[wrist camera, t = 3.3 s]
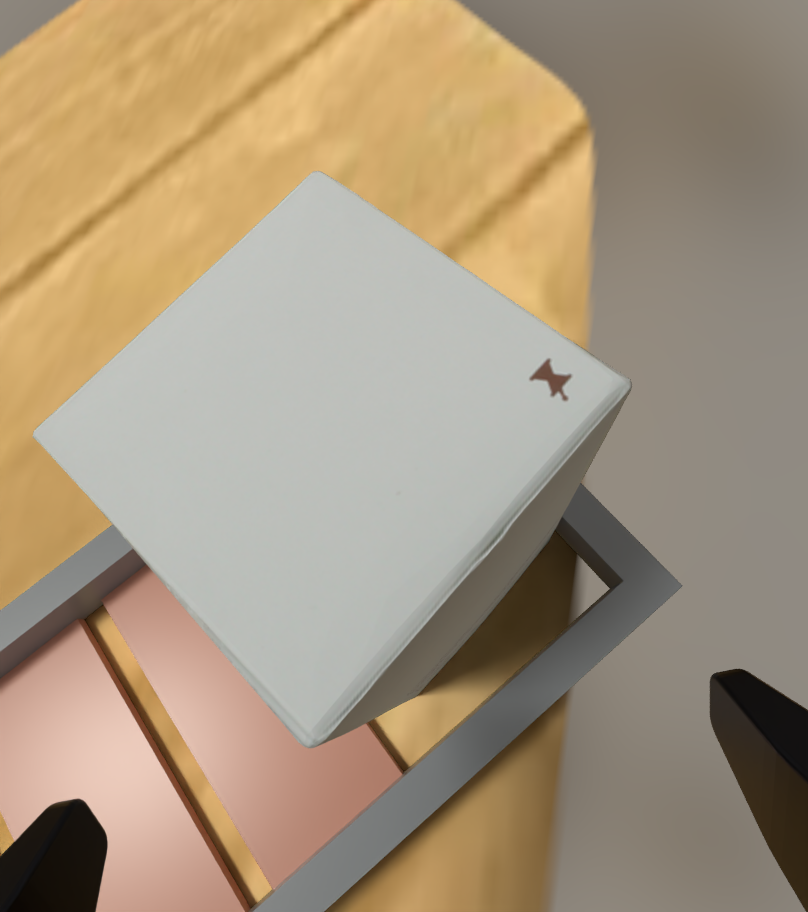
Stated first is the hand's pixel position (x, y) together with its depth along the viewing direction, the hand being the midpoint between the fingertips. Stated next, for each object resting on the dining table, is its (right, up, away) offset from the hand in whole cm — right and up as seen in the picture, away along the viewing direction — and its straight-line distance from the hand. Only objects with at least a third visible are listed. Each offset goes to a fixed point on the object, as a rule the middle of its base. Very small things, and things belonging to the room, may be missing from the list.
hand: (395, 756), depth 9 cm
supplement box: (0, +1, +13) cm, 13 cm away
